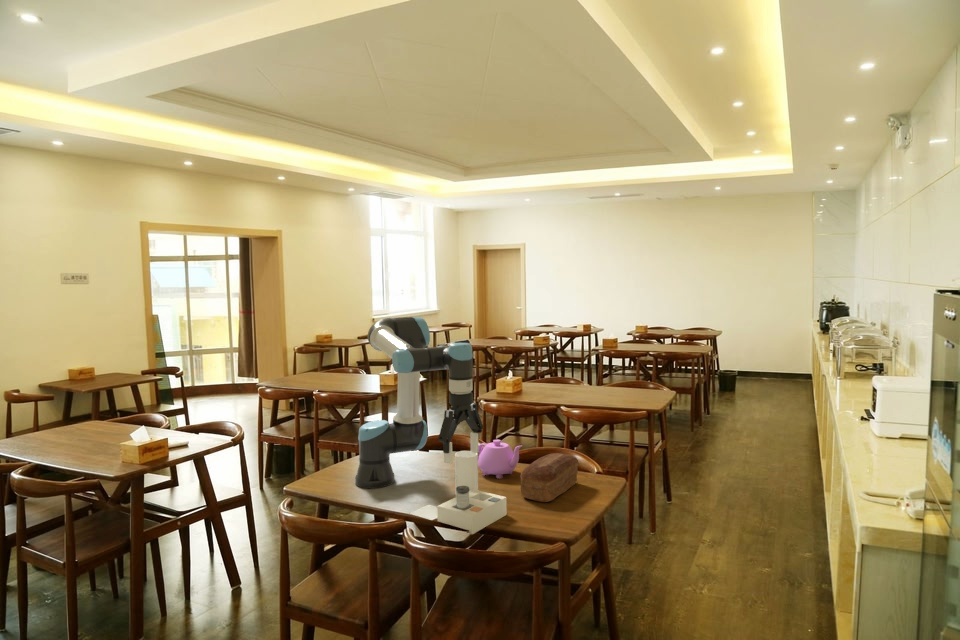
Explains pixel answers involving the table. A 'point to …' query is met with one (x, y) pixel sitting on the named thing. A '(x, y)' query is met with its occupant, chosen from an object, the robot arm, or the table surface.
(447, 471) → the table surface
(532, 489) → the bread
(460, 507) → the plug
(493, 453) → the teapot
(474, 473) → the cup
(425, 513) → the white flat square plate
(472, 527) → the socket block
